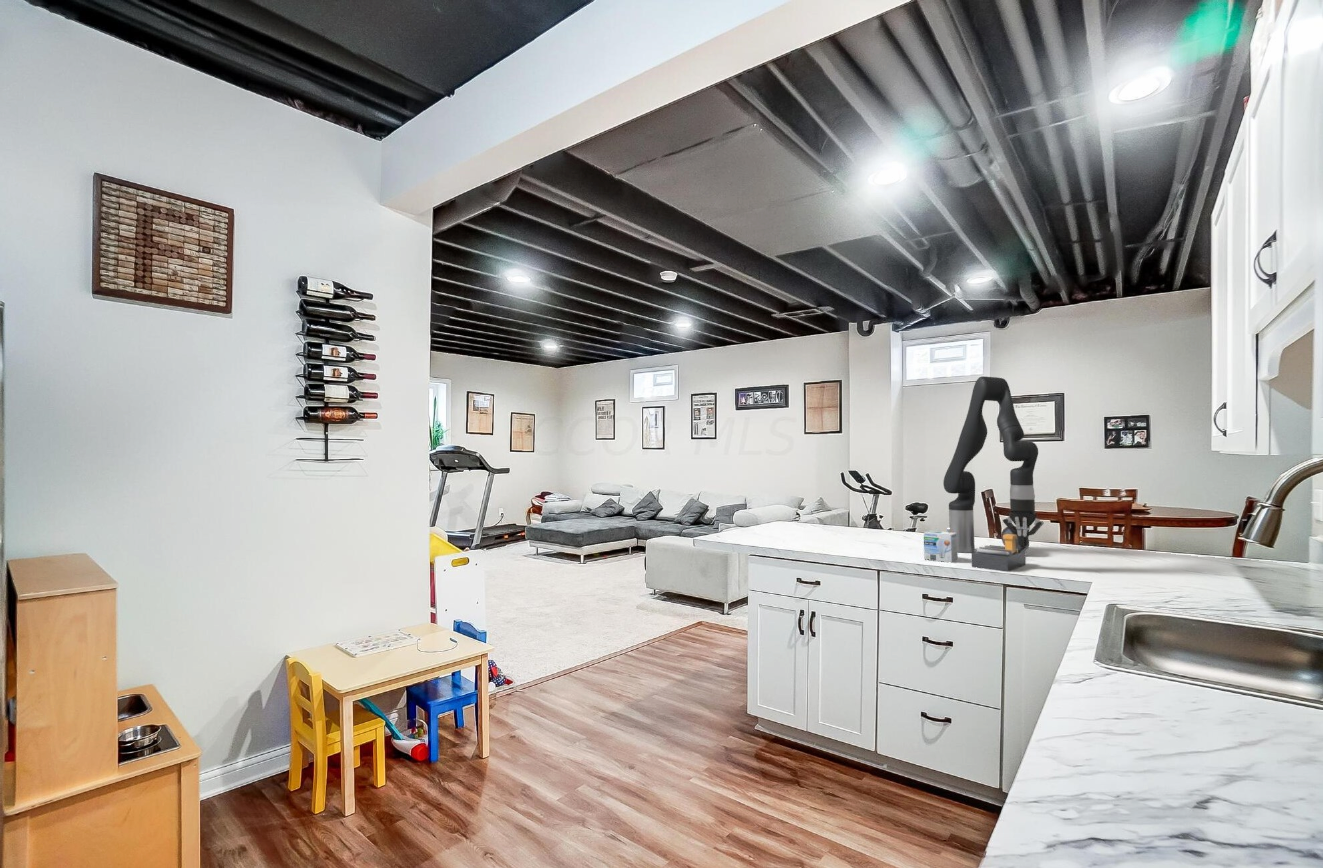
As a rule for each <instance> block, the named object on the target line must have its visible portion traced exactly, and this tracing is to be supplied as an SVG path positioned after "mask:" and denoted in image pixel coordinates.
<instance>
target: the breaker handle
mask: <svg viewBox="0 0 1323 868" xmlns="http://www.w3.org/2000/svg"><path fill="white" fill-rule="evenodd" d="M1016 538H1017V535H1013V534H1005V535H1003V539H1005V545H1004V547H1005V550H1013V553H1015V552H1016V547H1015V539H1016Z"/></svg>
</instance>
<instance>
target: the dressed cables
mask: <svg viewBox="0 0 1323 868" xmlns="http://www.w3.org/2000/svg"><path fill="white" fill-rule="evenodd" d="M989 546H995V547H1005V545H1003V546H1002V545H994V544H993V545H992V544H990V545H989ZM1016 549H1018V552H1021V549H1020V548H1016ZM976 552H978V553H987V554H996V555H1005V556H1009V555H1010V553H1009V552H1006V551H996V550H987V549H979V548H976Z"/></svg>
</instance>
